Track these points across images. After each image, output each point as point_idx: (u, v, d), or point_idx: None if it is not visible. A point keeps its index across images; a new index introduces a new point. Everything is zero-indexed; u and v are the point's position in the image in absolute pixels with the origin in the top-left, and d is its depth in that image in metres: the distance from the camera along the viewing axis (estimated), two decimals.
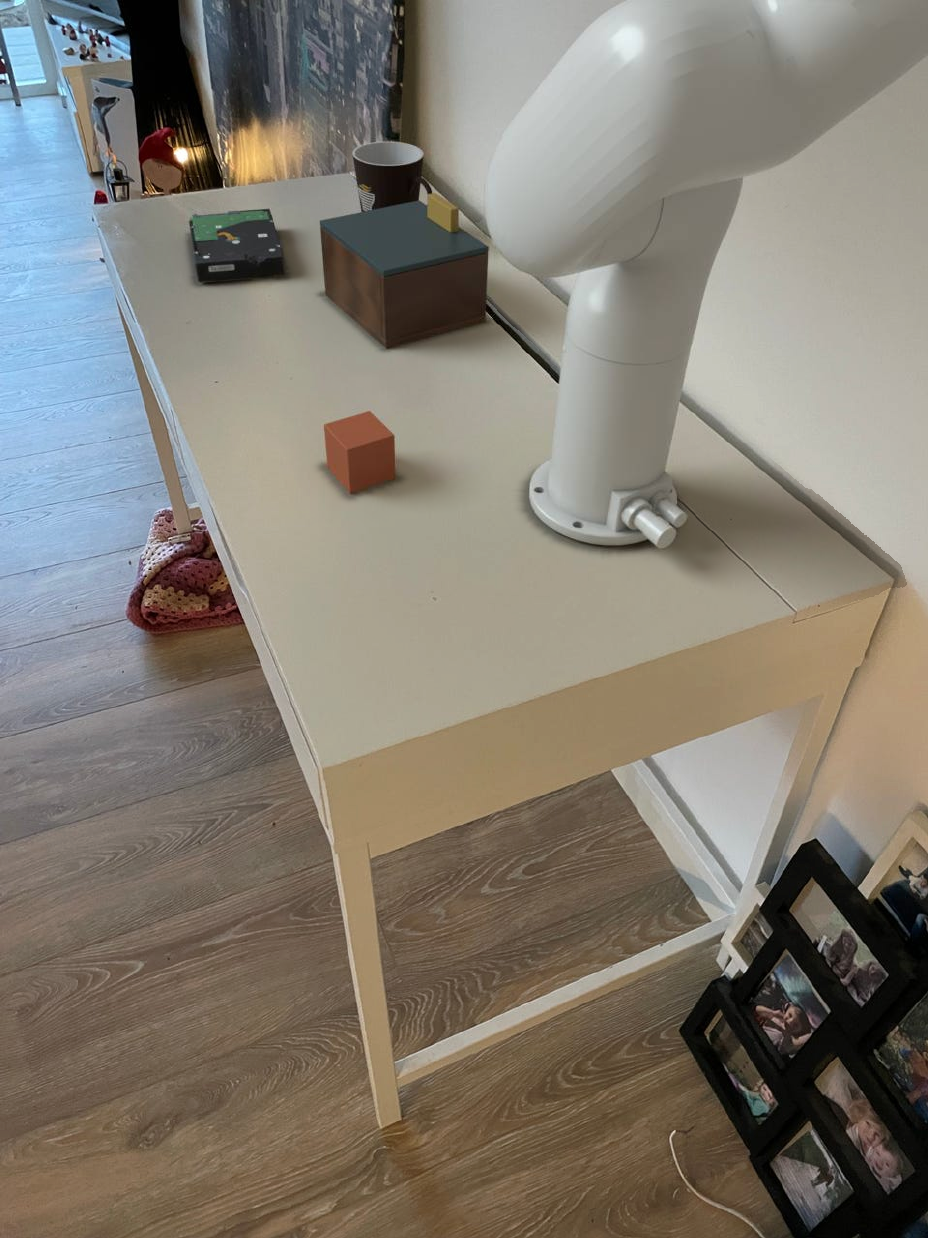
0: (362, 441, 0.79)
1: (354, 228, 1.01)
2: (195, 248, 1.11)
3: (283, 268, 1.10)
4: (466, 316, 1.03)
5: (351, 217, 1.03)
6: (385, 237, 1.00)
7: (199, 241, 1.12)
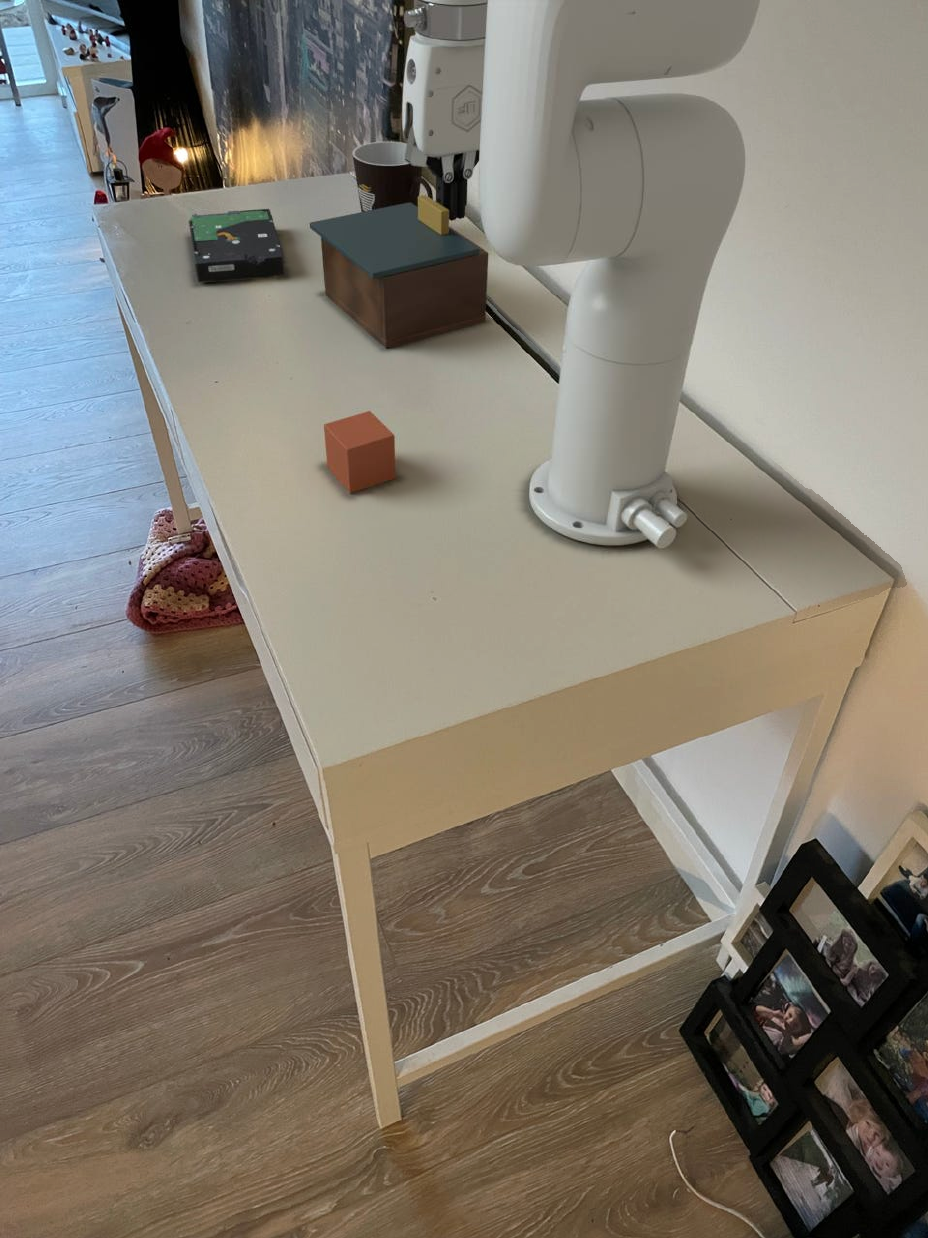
0: (362, 441, 0.79)
1: (344, 231, 1.01)
2: (195, 248, 1.11)
3: (283, 268, 1.10)
4: (466, 316, 1.03)
5: (341, 219, 1.03)
6: (374, 240, 0.99)
7: (199, 241, 1.12)
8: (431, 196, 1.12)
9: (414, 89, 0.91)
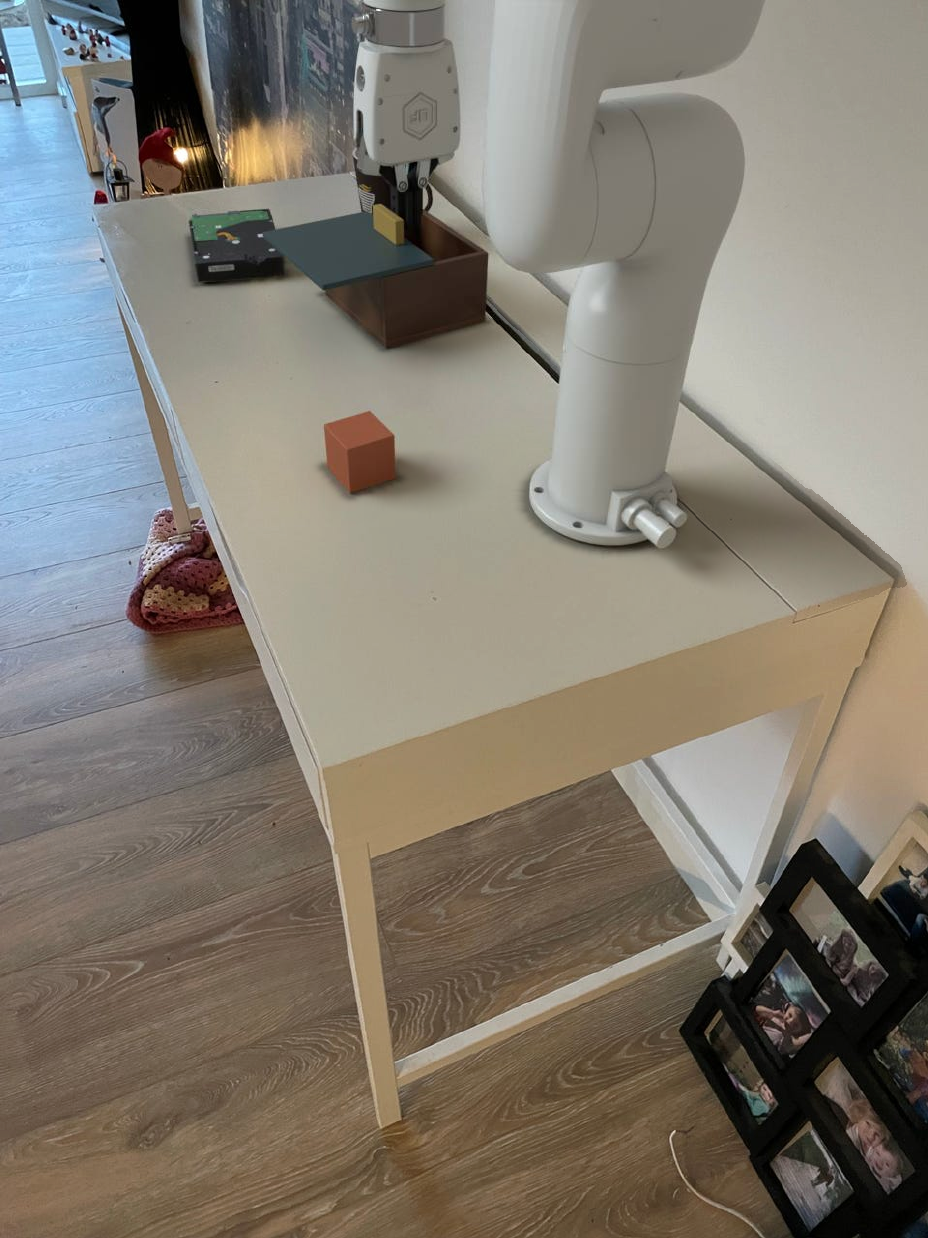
0: (362, 441, 0.79)
1: (297, 240, 0.98)
2: (195, 248, 1.11)
3: (283, 268, 1.10)
4: (466, 316, 1.03)
5: (295, 228, 1.01)
6: (327, 250, 0.97)
7: (199, 241, 1.12)
8: (431, 196, 1.12)
9: (364, 97, 0.89)
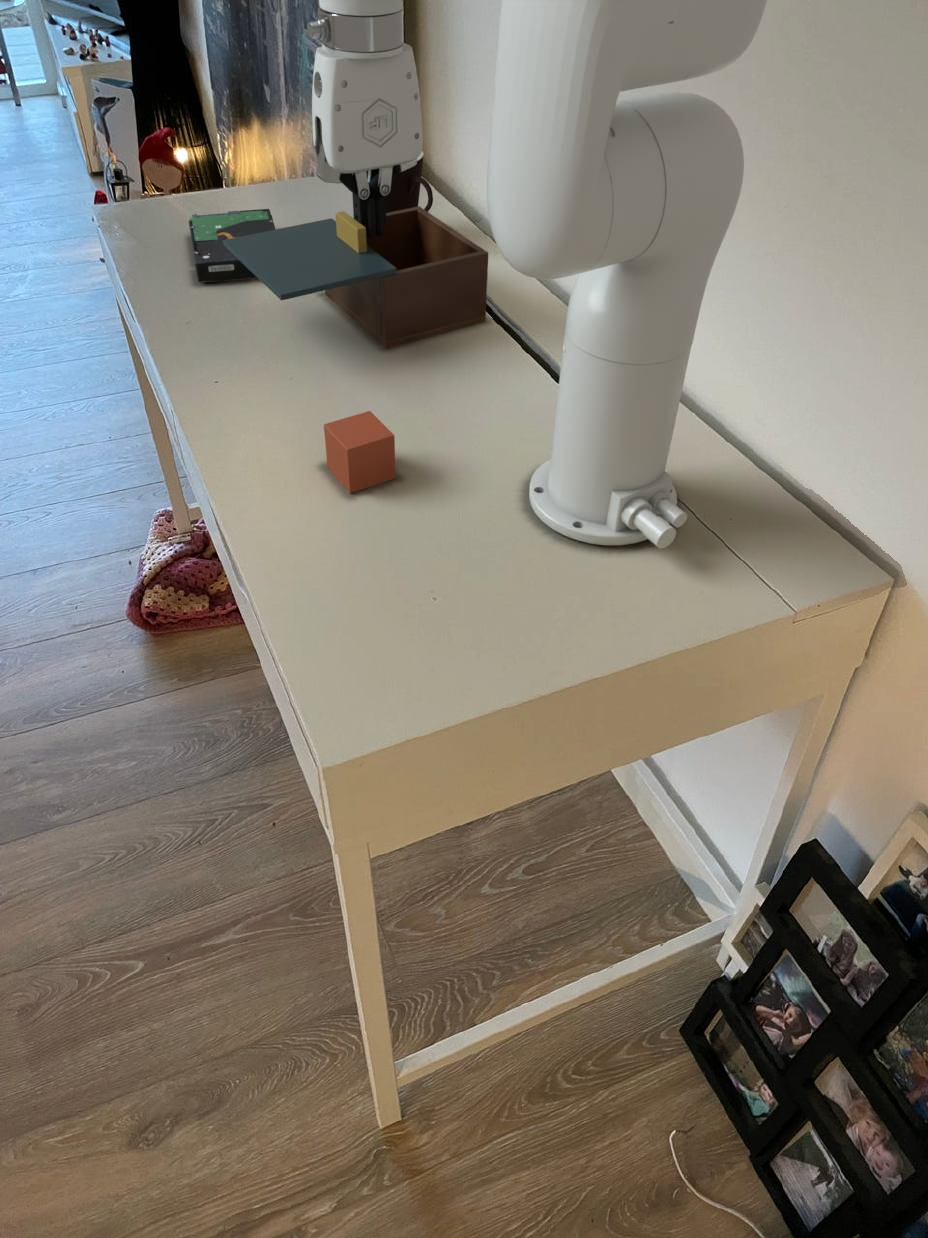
0: (362, 441, 0.79)
1: (257, 249, 0.97)
2: (195, 248, 1.11)
3: None
4: (466, 316, 1.03)
5: (257, 236, 0.99)
6: (288, 258, 0.95)
7: (199, 241, 1.12)
8: (431, 196, 1.12)
9: (321, 103, 0.87)
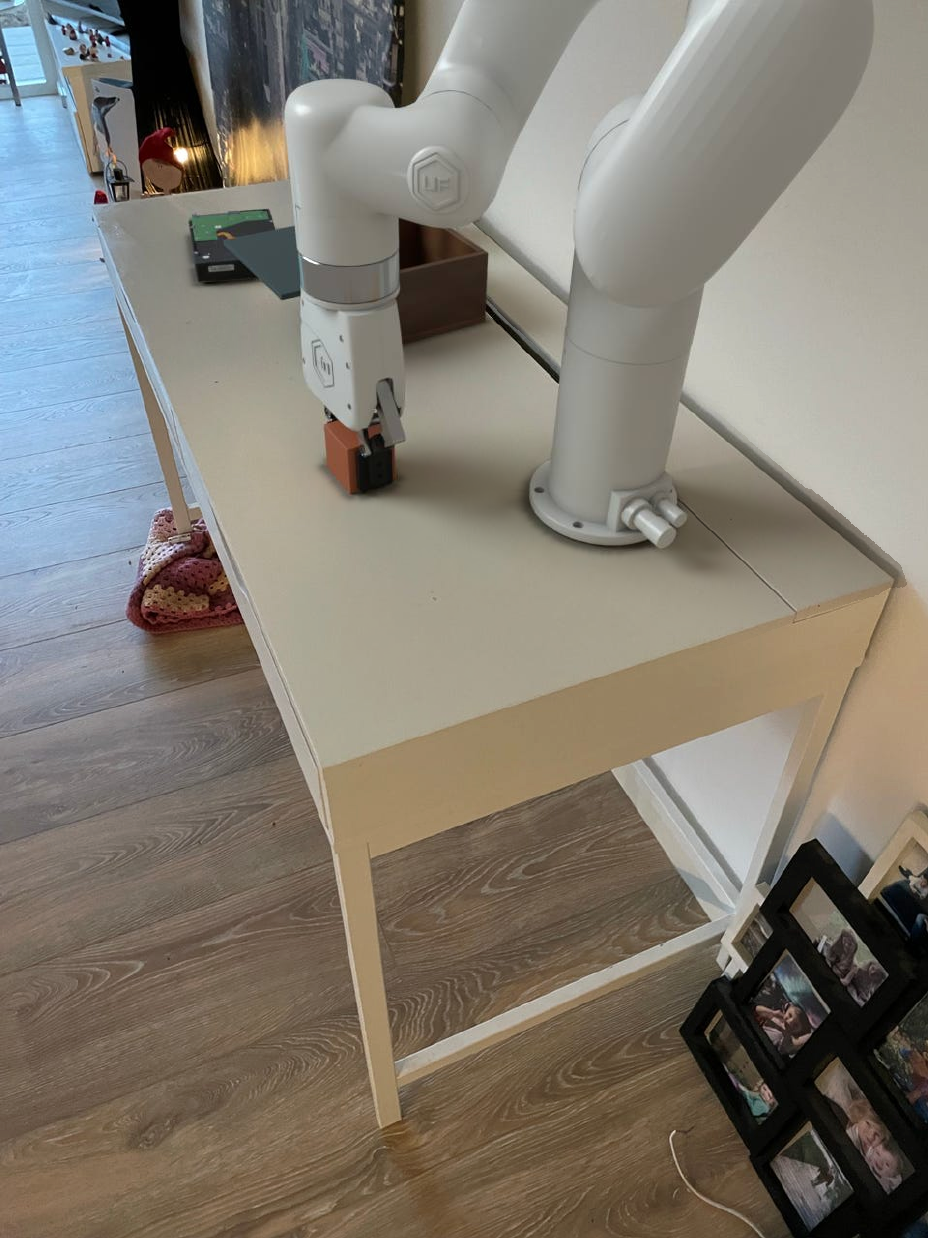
0: None
1: (258, 248, 0.97)
2: (195, 248, 1.11)
3: None
4: (466, 316, 1.03)
5: (257, 236, 0.99)
6: (289, 258, 0.95)
7: (199, 241, 1.12)
8: None
9: None
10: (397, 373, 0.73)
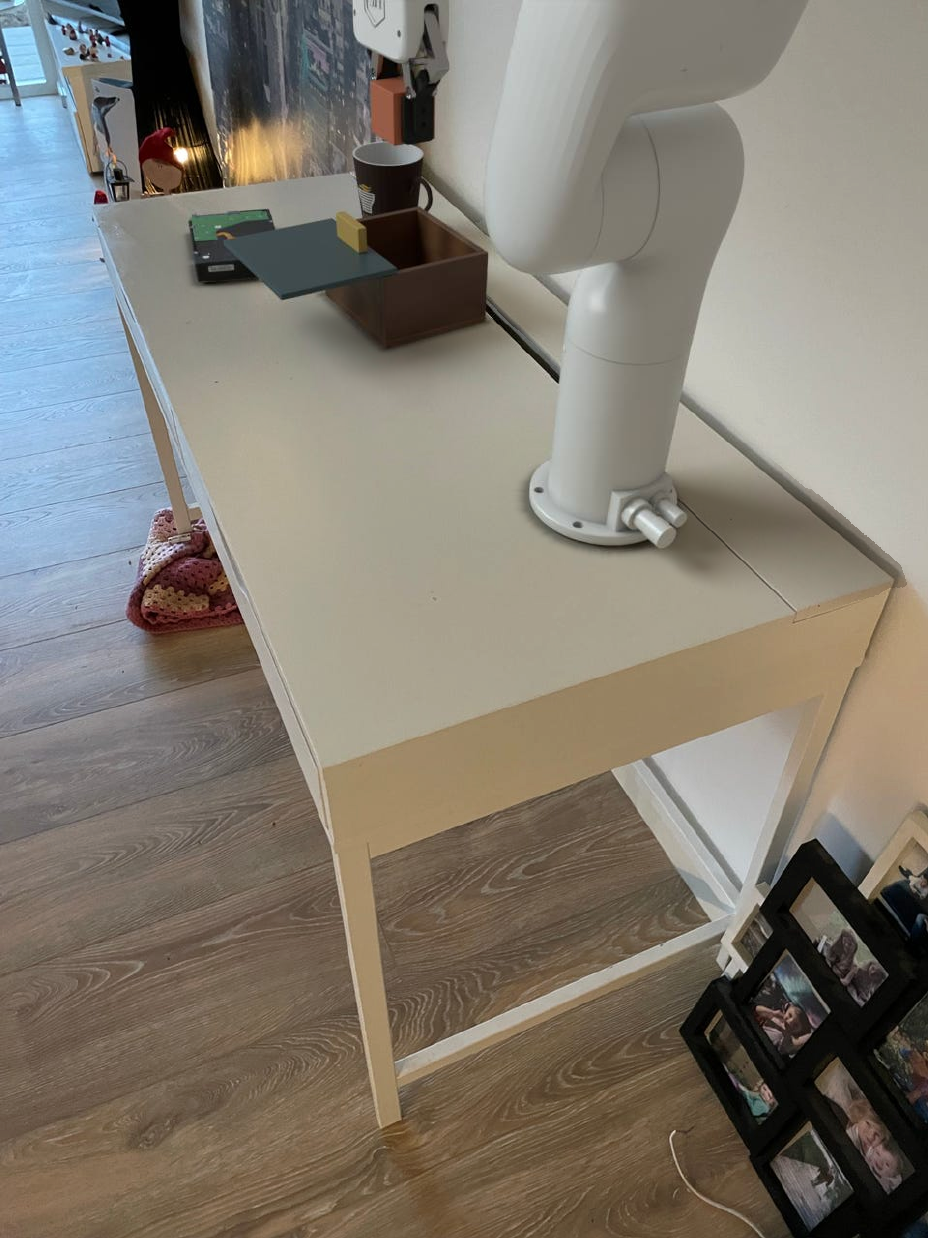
0: None
1: (258, 248, 0.97)
2: (195, 248, 1.11)
3: None
4: (466, 316, 1.03)
5: (257, 236, 0.99)
6: (289, 258, 0.95)
7: (199, 241, 1.12)
8: (431, 196, 1.12)
9: None
10: (443, 0, 0.80)
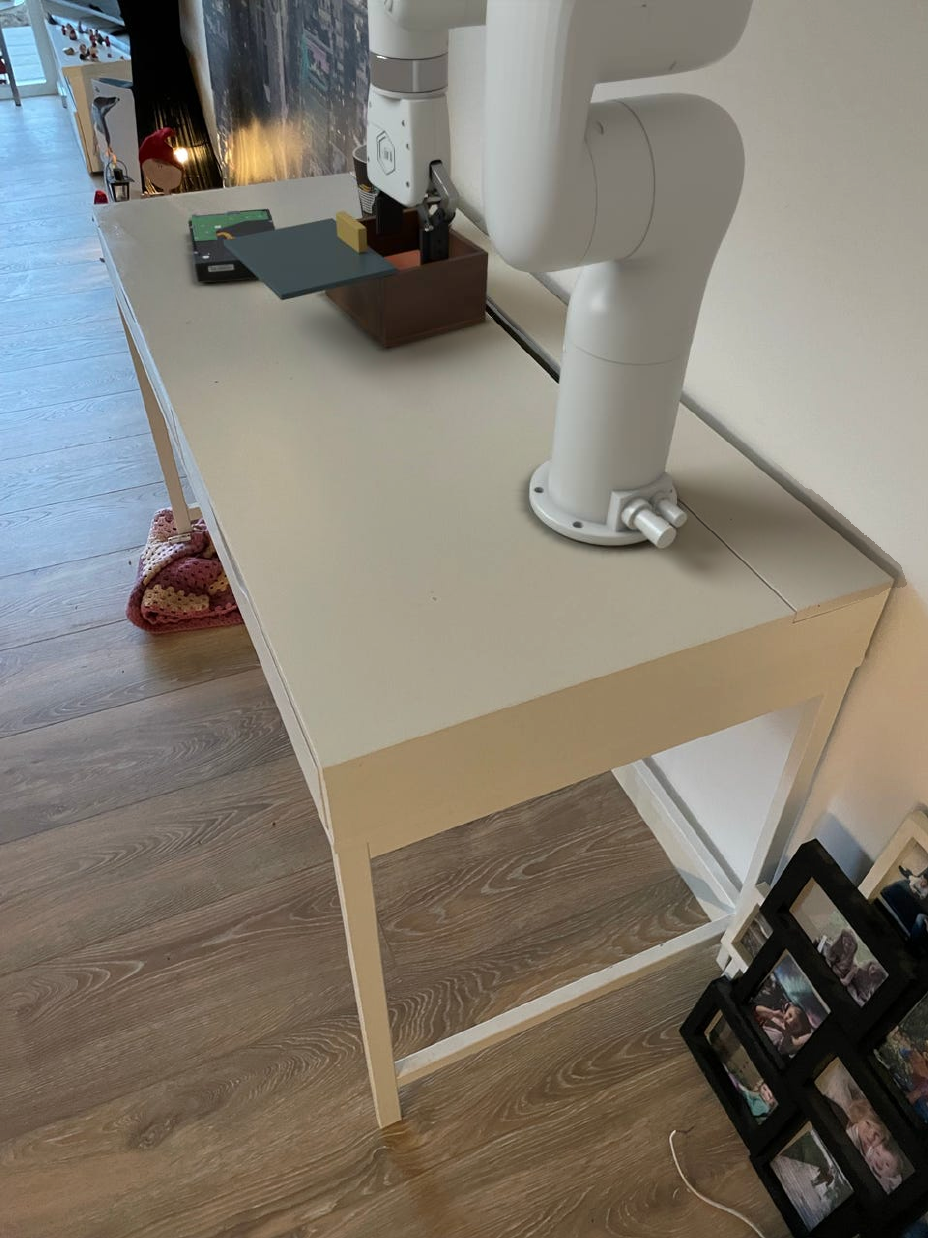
0: None
1: (258, 248, 0.97)
2: (194, 248, 1.11)
3: None
4: (466, 316, 1.03)
5: (257, 236, 0.99)
6: (289, 258, 0.95)
7: (198, 241, 1.12)
8: None
9: None
10: (445, 156, 0.92)
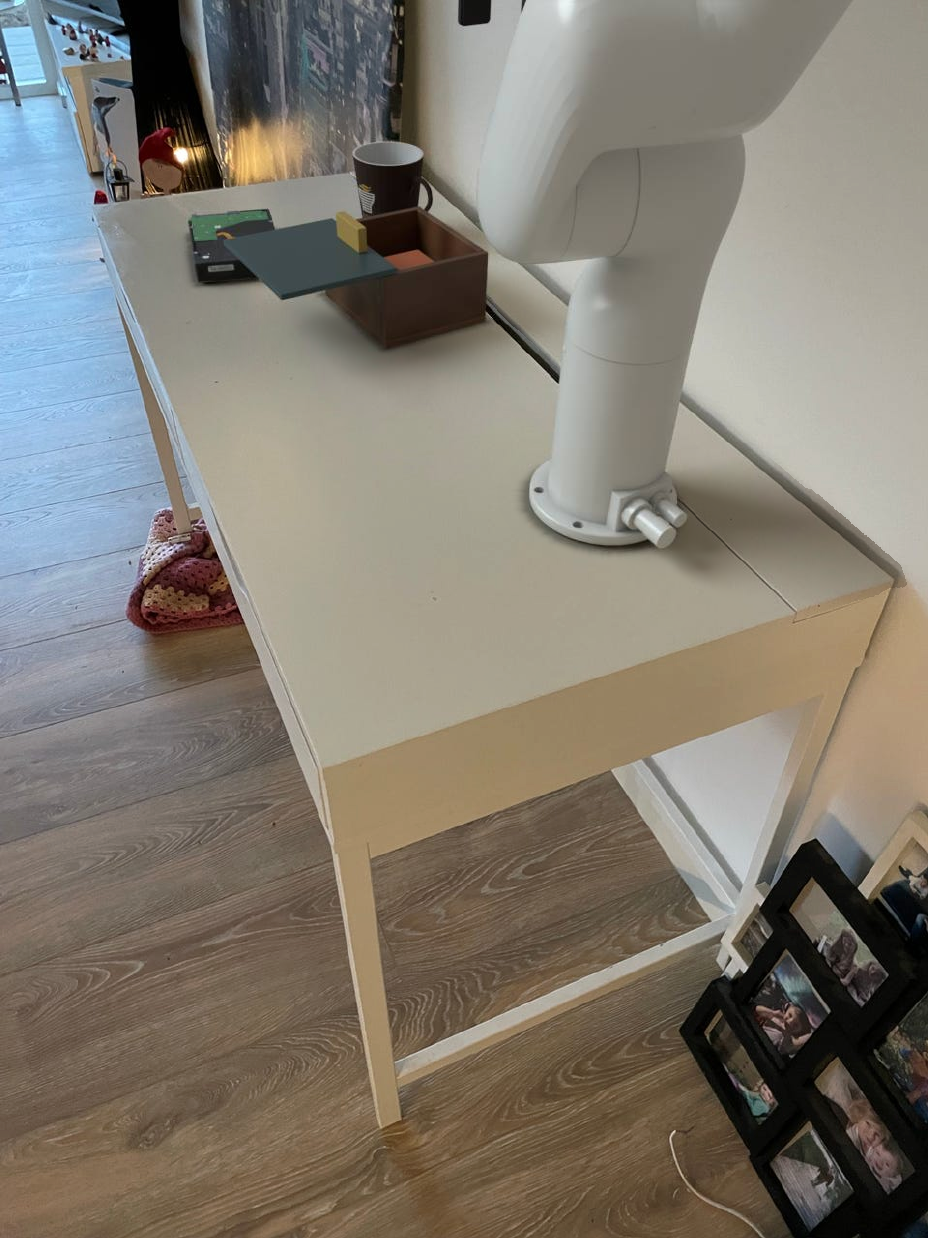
0: None
1: (258, 248, 0.97)
2: (194, 248, 1.11)
3: None
4: (466, 316, 1.03)
5: (257, 236, 0.99)
6: (289, 258, 0.95)
7: (198, 241, 1.12)
8: (431, 196, 1.12)
9: None
10: None
